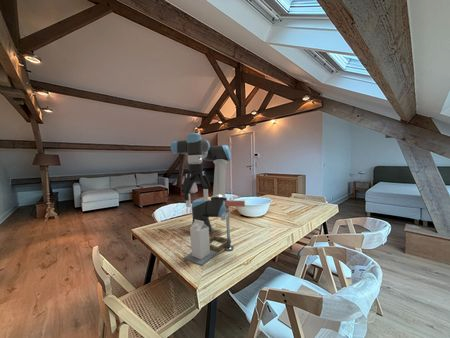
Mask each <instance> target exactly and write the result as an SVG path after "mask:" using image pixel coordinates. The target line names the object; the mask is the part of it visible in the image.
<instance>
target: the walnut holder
mask: <svg viewBox="0 0 450 338" xmlns="http://www.w3.org/2000/svg"><path fill="white" fill-rule="evenodd" d="M209 241H210V250H211V251H214V252H217V253H220V252H222V251H223V250H225V246H227V237H223V236H219V235H216V234H215V235H212V236H211V237H209ZM215 241H217V242H220V243H221V244H220V245H219V246H217V245H213V244H212V243H213V242H215ZM230 243H231V244H232V239H231V238H230Z"/></svg>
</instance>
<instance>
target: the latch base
mask: <svg viewBox="0 0 450 338" xmlns="http://www.w3.org/2000/svg"><path fill="white" fill-rule="evenodd" d="M234 248H235V247H234V246H233V245H231V248H228V246H225V248H224V251H226V252H232V251H234V250H233V249H234Z"/></svg>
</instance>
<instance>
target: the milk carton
mask: <svg viewBox="0 0 450 338" xmlns="http://www.w3.org/2000/svg"><path fill="white" fill-rule="evenodd" d="M189 234H190V249H191V250H190V251H191V252H192V256H194V257H196V258H198V259H203V258H204V257H206V256H207V255H209V254H210V244H211V243H210V241H209V238H210V232H209V227H208V226H207V225H205V224H204V221H200V220H196V219H194V223H193V224H192V223H191V226H190V228H189ZM191 252H190V253H191Z"/></svg>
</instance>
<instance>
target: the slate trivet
mask: <svg viewBox="0 0 450 338" xmlns="http://www.w3.org/2000/svg"><path fill="white" fill-rule="evenodd" d="M217 255H219V252H216V251H213V250H210V254H209V255H207V256H206V257H204V258H203V259H198V258H196V257H194V256H192V252H190V253H188V254H187V255H185V256H184V257H183V259H184V260H186V261H189V262H192V263H193V264H196V265H199V266H204V265H205V264H206V263H208V262H209V261H211V259H213V258H214V257H215V256H217Z"/></svg>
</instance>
